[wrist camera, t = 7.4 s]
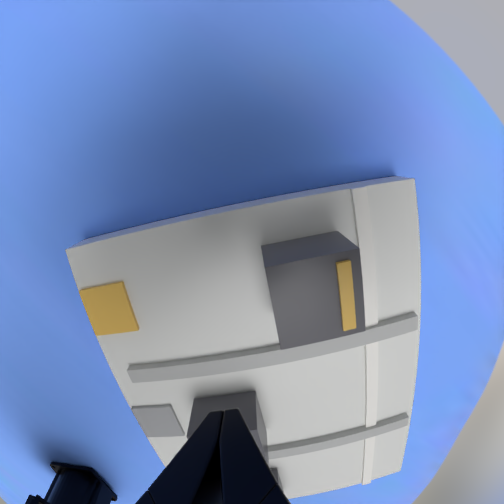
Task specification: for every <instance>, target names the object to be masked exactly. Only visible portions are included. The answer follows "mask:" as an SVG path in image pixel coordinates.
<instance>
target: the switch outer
mask: <svg viewBox="0 0 504 504" xmlns="http://www.w3.org/2000/svg"><path fill="white" fill-rule="evenodd" d="M261 250H262V255H263V261H264V267H265V272H266V277H267V282H268V287H269V292H270V298H271V303H272V308H273V313H274V318H275V323H276V328H277V333H278V339H279V344H280V349H281V350H284V349H289V348H294V347H299V346H303V345H308V344H313V343H317V342H322V341H326V340H331V339H335V338H339V337H343V336H348V335H352V334H356V333H360V332H364V331H366V327H365V308H364V293H363V280H362V268H361V258H360V248H359V247H357V246H356V245H355V244H354V243H352V242H351V241H350V240H349V239H347V238H346V237H345V236H344V235H342V234H341V233H340V232H338V231H333V232H328V233H323V234H317V235H312V236H307V237H302V238H297V239H292V240H287V241H282V242H277V243H272V244H267V245H261Z"/></svg>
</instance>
